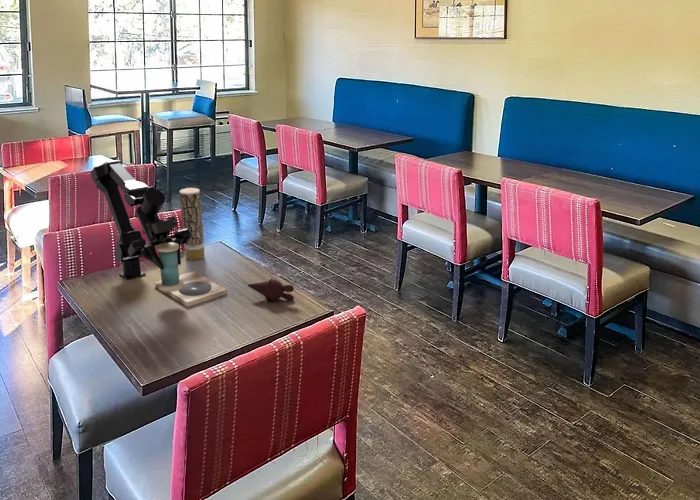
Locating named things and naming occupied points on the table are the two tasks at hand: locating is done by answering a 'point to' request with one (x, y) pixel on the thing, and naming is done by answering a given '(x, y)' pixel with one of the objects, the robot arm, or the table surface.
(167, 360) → the table surface
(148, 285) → the table surface
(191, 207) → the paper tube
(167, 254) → the bobbin
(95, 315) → the table surface
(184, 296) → the stand board
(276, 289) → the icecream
